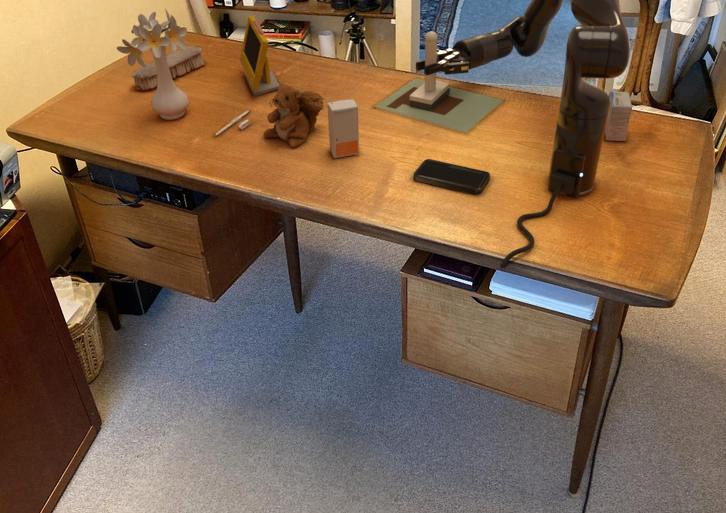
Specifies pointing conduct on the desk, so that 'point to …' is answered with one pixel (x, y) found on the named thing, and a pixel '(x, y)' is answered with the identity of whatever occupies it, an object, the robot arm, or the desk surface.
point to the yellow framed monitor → (257, 60)
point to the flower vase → (159, 61)
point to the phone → (452, 176)
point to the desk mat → (443, 107)
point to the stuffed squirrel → (293, 114)
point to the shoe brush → (177, 66)
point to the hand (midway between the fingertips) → (421, 68)
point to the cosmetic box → (343, 128)
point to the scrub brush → (430, 80)
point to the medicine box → (618, 116)
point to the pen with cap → (241, 126)
